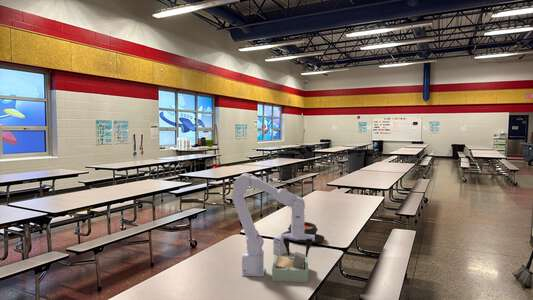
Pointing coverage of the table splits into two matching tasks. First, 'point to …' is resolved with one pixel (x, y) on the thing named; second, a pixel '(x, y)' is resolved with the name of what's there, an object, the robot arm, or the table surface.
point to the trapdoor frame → (290, 273)
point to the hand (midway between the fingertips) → (297, 255)
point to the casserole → (308, 232)
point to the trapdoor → (285, 262)
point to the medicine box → (279, 246)
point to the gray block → (298, 260)
